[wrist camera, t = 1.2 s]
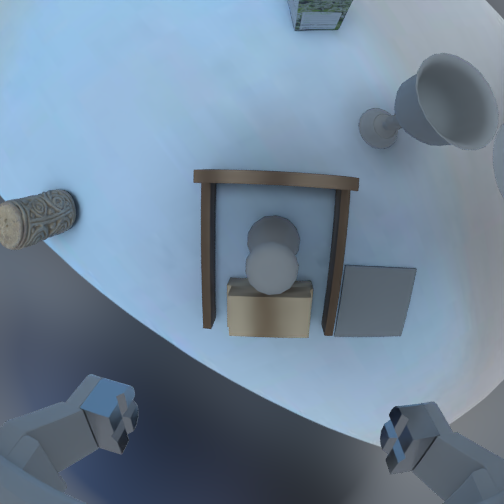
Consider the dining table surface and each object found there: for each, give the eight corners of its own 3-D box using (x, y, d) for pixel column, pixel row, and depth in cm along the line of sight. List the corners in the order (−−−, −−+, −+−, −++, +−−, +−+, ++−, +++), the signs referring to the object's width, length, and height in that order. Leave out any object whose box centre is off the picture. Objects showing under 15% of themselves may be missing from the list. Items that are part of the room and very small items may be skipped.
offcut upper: (309, 287, 34) (311, 297, 31) (306, 325, 36) (308, 337, 33) (231, 285, 35) (227, 295, 32) (232, 323, 36) (229, 335, 33)
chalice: (405, 107, 30) (494, 72, 13) (404, 160, 32) (499, 160, 14) (350, 97, 30) (411, 40, 13) (348, 152, 32) (416, 138, 15)
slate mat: (415, 268, 35) (416, 269, 35) (400, 334, 38) (400, 336, 38) (345, 264, 36) (345, 265, 35) (334, 335, 39) (334, 336, 38)
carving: (44, 192, 36) (-13, 204, 25) (79, 184, 36) (20, 194, 24) (49, 232, 38) (-5, 254, 27) (85, 229, 37) (28, 252, 26)
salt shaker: (304, 251, 36) (317, 295, 23) (259, 266, 37) (250, 316, 24) (288, 205, 35) (295, 226, 22) (242, 221, 36) (223, 251, 23)
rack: (345, 176, 33) (364, 178, 25) (328, 324, 38) (338, 358, 30) (207, 169, 34) (188, 169, 26) (208, 317, 39) (193, 349, 32)
